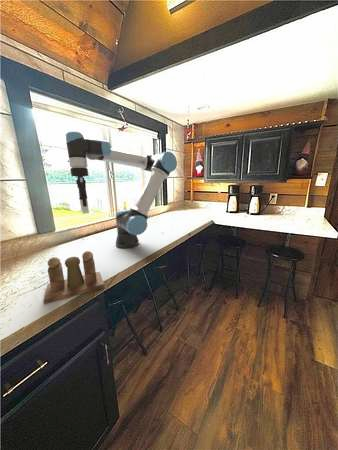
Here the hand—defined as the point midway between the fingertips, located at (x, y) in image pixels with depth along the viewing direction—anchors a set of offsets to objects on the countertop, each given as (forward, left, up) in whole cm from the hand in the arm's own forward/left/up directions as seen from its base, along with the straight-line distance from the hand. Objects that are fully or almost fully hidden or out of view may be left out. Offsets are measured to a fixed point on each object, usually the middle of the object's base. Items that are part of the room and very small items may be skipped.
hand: (84, 211), depth 92 cm
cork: (+8, +25, -25) cm, 36 cm away
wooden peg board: (+8, +25, -27) cm, 37 cm away
